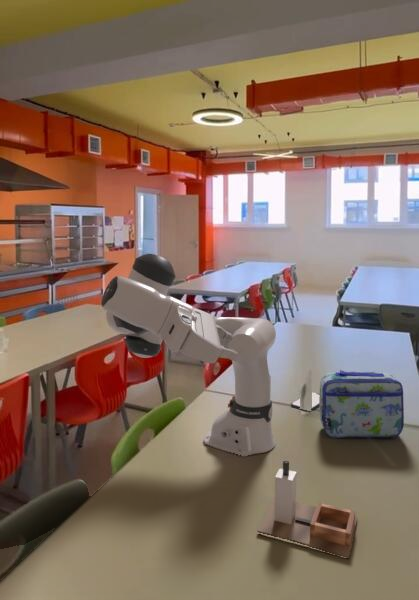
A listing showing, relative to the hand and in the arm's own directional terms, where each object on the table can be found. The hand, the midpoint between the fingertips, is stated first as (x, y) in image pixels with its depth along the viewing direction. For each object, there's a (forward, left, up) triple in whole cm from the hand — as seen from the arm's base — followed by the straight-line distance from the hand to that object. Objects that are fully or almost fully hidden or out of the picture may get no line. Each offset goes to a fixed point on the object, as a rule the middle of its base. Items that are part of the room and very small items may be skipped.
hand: (233, 347), depth 103 cm
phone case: (+1, +79, -43) cm, 90 cm away
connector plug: (+11, +5, -41) cm, 43 cm away
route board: (+16, +5, -42) cm, 46 cm away
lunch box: (+21, +59, -43) cm, 76 cm away
